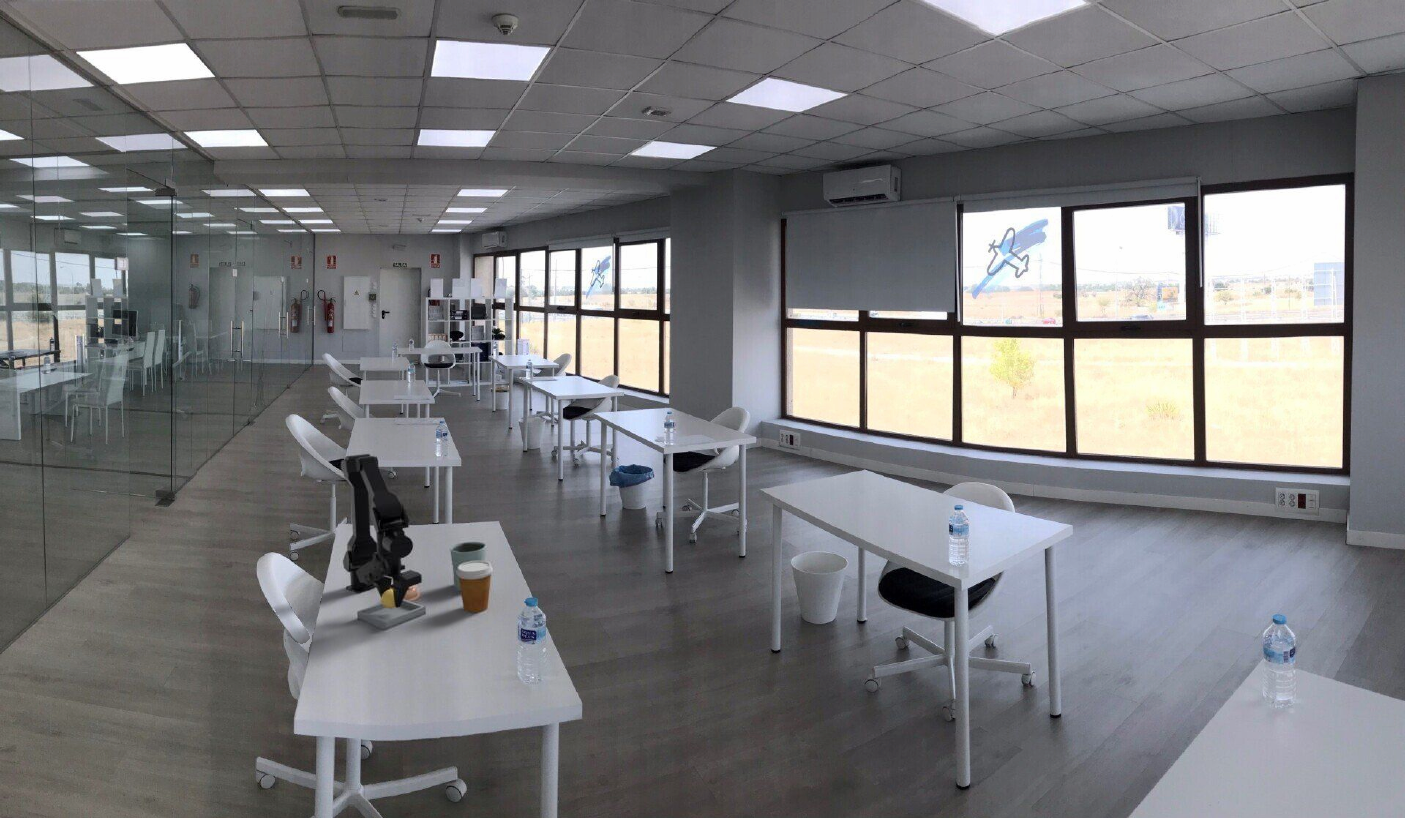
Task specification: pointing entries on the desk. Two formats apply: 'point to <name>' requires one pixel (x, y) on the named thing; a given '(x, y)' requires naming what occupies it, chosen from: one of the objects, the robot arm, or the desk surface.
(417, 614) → the tray
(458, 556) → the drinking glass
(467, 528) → the desk surface
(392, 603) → the ball
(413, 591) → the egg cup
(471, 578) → the disposable coffee cup
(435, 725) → the desk surface
